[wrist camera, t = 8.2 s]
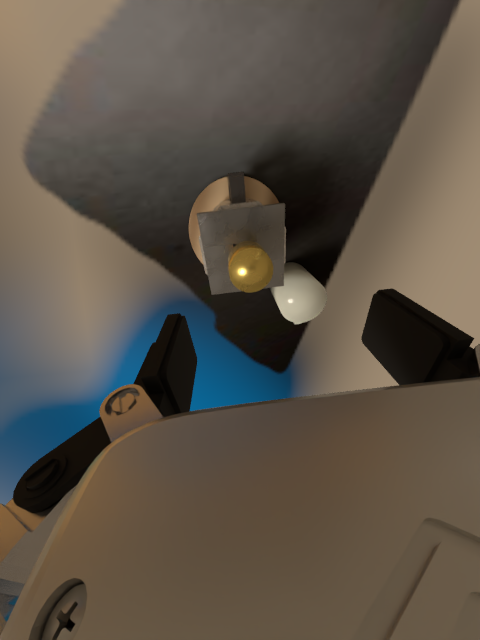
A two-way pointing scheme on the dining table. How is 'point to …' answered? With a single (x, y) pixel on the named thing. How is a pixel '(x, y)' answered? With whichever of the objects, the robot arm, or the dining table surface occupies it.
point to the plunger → (249, 266)
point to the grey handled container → (241, 234)
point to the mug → (299, 294)
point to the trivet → (221, 193)
